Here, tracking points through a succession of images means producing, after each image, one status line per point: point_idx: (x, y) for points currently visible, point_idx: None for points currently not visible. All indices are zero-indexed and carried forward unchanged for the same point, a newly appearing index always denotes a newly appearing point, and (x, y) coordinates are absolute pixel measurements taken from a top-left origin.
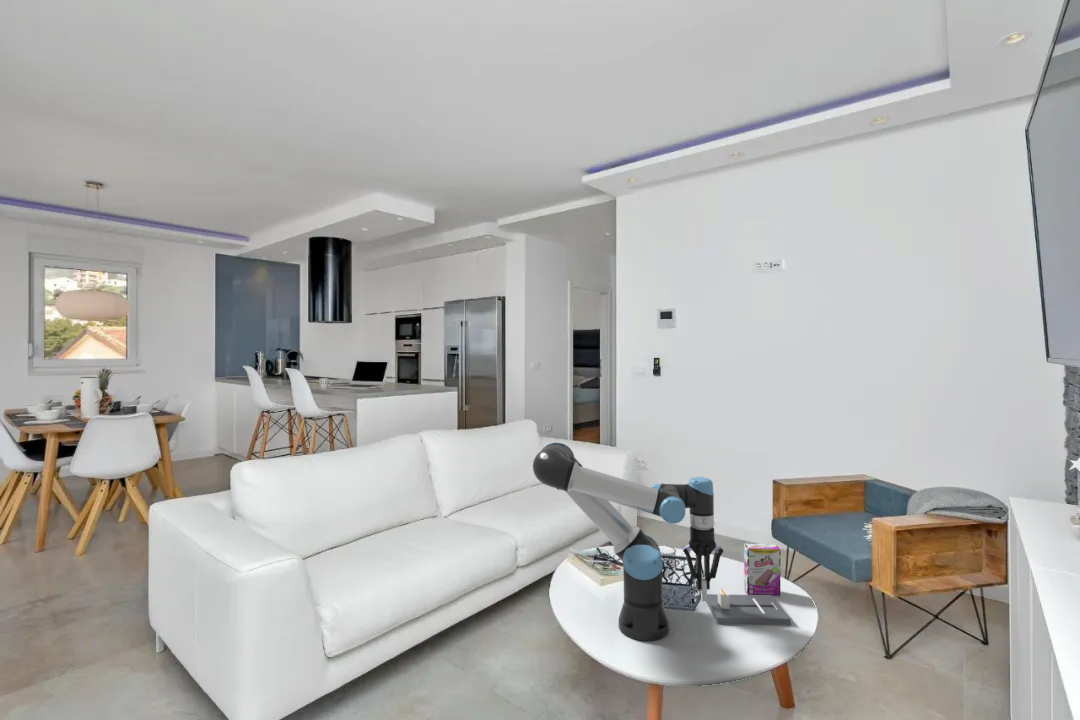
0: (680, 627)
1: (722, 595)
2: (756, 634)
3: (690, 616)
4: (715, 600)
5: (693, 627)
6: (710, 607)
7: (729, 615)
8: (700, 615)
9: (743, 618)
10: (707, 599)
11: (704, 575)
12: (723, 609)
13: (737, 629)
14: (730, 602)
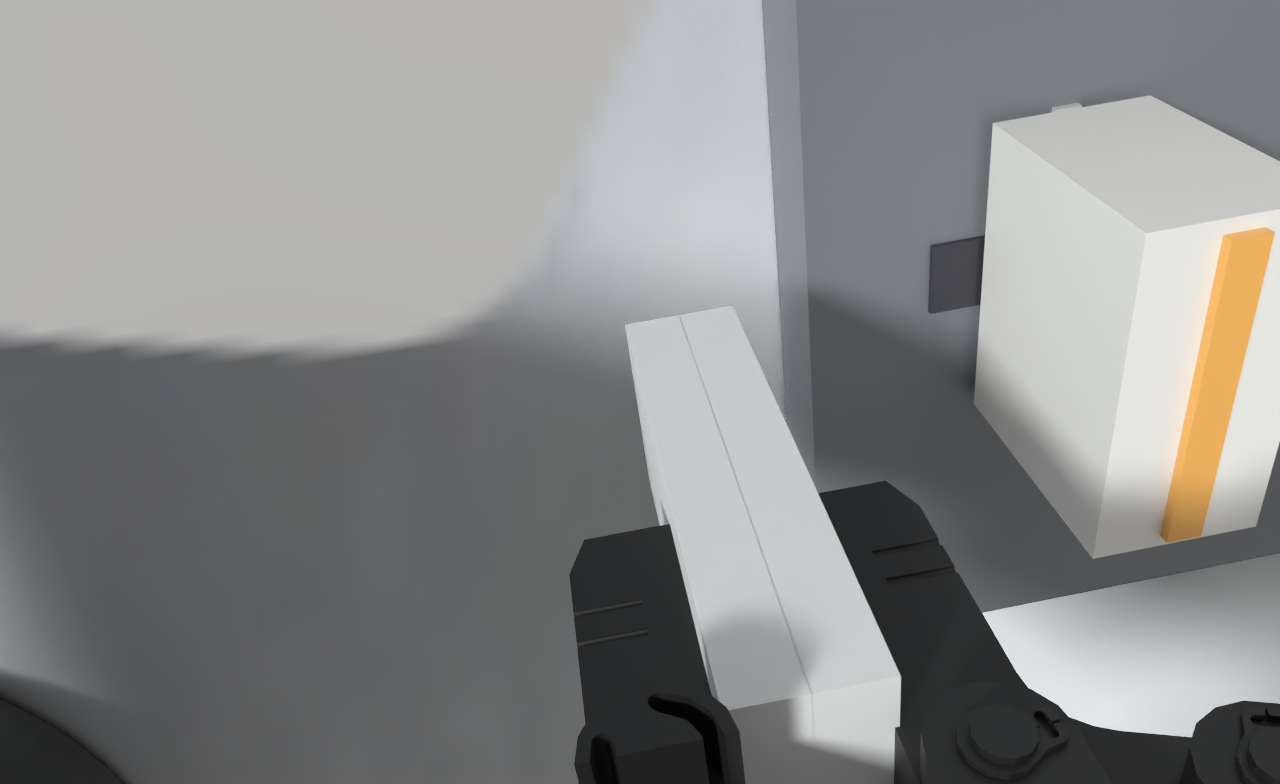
0: (295, 746)
1: (1121, 528)
2: (1176, 660)
3: (415, 470)
4: (960, 56)
5: (465, 708)
6: (789, 241)
7: (1017, 554)
8: (578, 407)
9: (1184, 566)
10: (793, 4)
11: (928, 780)
12: None
13: (1007, 622)
14: (1242, 94)
